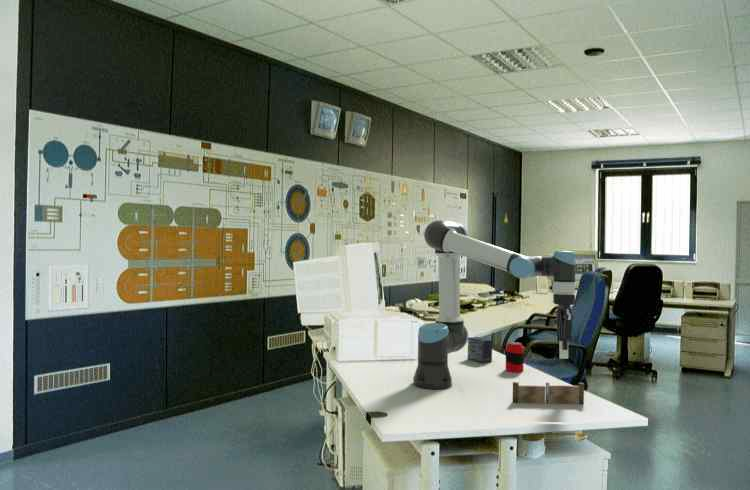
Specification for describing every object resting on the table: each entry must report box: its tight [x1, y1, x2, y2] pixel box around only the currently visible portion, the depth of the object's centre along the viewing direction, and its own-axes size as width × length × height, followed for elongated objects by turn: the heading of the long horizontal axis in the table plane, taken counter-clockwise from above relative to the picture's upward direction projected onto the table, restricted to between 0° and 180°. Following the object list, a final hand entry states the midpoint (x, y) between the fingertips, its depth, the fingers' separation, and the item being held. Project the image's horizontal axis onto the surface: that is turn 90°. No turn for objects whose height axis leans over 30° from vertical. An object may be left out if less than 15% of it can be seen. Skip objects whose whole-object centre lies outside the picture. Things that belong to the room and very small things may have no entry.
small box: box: [467, 336, 493, 364], centre depth 262 cm, size 11×6×10 cm, turn 34°
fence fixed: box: [512, 381, 546, 404], centre depth 193 cm, size 11×2×7 cm, turn 89°
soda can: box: [505, 341, 525, 373], centre depth 242 cm, size 8×8×12 cm
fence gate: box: [544, 382, 585, 405], centre depth 192 cm, size 13×2×7 cm, turn 89°
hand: (563, 358), depth 201 cm, fingers closed
